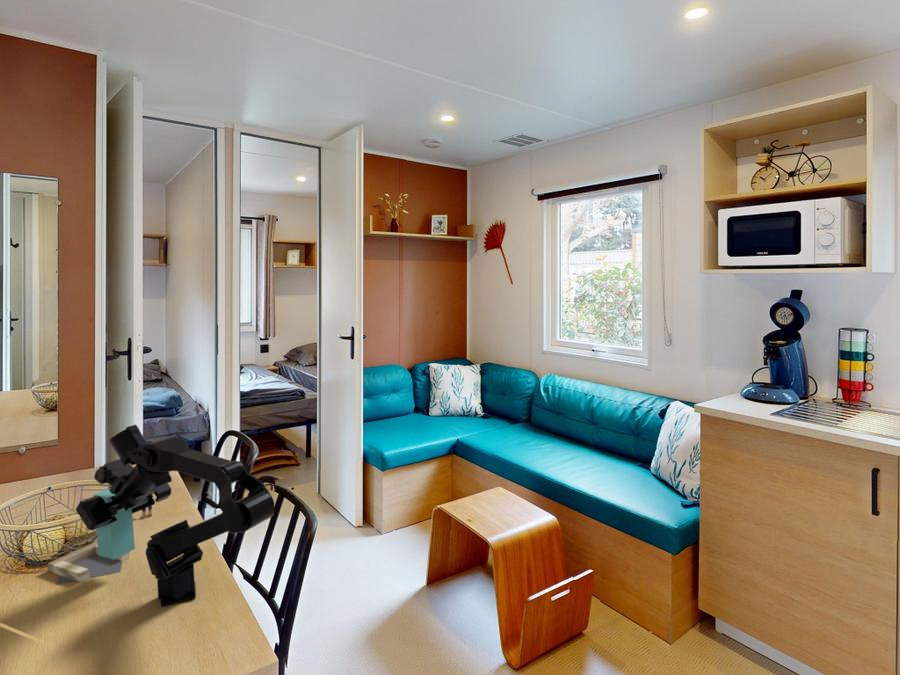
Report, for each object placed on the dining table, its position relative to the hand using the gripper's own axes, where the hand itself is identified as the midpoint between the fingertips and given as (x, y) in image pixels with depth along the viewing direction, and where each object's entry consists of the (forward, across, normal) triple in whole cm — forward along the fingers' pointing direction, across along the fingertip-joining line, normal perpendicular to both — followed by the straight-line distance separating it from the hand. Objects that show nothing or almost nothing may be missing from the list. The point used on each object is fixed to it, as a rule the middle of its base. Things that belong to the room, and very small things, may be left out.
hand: (110, 520), depth 121 cm
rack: (+14, 0, +3) cm, 14 cm away
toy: (+22, -23, -4) cm, 33 cm away
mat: (+14, 0, +4) cm, 15 cm away
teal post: (+4, 0, +6) cm, 7 cm away
